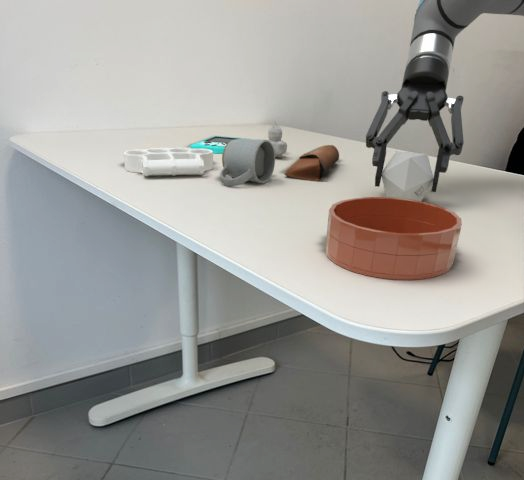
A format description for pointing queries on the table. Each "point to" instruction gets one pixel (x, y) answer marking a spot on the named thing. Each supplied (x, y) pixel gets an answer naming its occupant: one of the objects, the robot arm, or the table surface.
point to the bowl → (392, 237)
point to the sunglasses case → (314, 163)
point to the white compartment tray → (168, 161)
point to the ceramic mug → (247, 161)
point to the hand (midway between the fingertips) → (405, 184)
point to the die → (407, 176)
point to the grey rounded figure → (277, 140)
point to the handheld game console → (214, 144)
